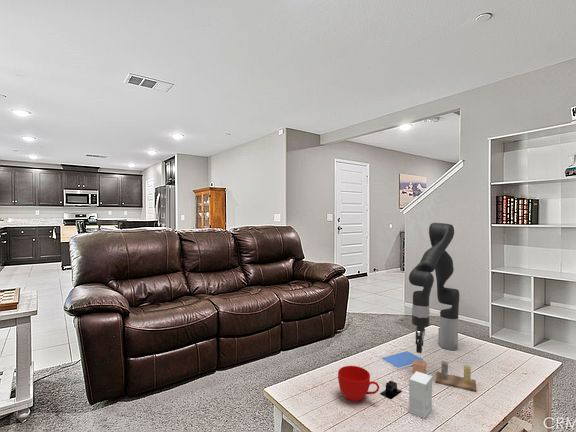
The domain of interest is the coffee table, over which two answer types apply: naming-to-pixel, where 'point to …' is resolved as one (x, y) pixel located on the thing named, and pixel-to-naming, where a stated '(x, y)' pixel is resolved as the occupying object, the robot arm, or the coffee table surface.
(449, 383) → the board
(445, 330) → the robot arm
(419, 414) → the small box
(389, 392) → the black knobbed base
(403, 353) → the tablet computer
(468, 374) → the brass post
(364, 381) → the ceramic cup
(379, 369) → the coffee table surface
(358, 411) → the coffee table surface
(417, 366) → the salmon pink cube
